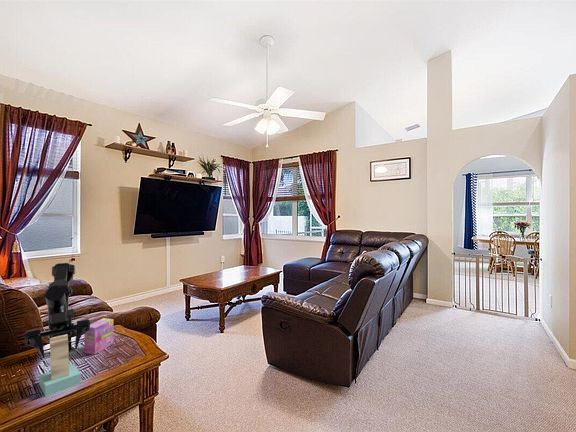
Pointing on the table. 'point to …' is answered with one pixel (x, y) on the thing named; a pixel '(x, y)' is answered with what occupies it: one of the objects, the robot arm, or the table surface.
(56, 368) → the pillar
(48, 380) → the base block
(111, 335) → the box
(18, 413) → the table surface
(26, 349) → the table surface
